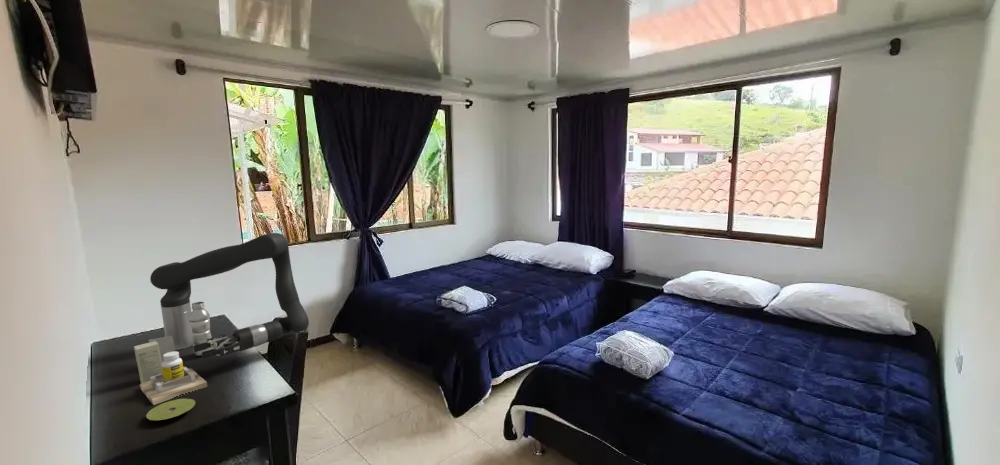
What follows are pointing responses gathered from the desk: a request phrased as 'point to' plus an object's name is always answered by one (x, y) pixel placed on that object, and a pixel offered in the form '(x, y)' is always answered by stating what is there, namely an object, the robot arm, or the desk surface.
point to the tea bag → (164, 345)
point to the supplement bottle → (172, 367)
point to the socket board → (172, 386)
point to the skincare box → (148, 360)
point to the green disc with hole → (170, 409)
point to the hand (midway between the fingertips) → (197, 352)
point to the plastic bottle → (200, 325)
